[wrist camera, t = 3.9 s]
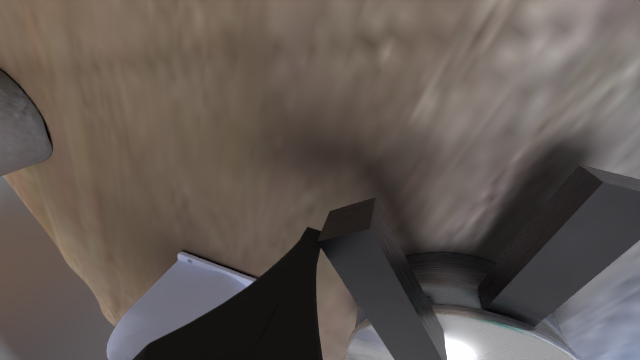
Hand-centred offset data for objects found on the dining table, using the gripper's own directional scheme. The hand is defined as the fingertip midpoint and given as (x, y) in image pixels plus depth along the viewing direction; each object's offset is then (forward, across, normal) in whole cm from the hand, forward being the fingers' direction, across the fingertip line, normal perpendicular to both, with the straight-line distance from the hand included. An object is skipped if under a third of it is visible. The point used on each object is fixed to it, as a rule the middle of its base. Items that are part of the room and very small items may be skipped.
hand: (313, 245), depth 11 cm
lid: (+2, -9, +7) cm, 12 cm away
